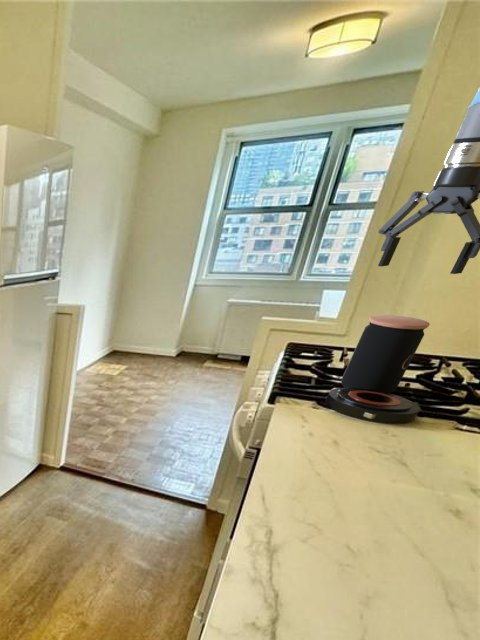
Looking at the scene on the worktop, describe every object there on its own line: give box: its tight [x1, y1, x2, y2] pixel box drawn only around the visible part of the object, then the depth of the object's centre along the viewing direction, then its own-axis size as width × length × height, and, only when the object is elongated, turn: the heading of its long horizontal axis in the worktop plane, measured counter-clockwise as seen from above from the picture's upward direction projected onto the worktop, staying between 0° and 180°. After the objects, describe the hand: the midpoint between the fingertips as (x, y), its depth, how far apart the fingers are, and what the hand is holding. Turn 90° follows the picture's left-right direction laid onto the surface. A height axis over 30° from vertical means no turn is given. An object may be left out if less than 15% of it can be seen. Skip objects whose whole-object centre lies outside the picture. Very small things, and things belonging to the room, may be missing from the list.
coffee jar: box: [340, 314, 431, 394], centre depth 122 cm, size 11×11×18 cm
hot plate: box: [324, 387, 421, 425], centre depth 115 cm, size 16×16×3 cm
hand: (417, 269), depth 114 cm, fingers open, 13 cm apart
